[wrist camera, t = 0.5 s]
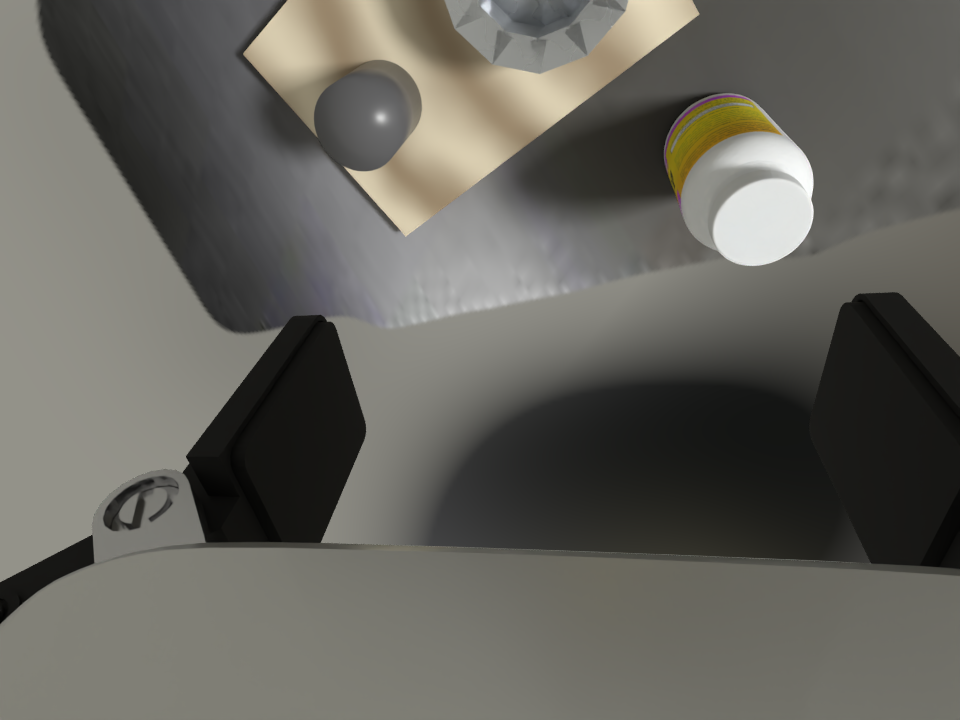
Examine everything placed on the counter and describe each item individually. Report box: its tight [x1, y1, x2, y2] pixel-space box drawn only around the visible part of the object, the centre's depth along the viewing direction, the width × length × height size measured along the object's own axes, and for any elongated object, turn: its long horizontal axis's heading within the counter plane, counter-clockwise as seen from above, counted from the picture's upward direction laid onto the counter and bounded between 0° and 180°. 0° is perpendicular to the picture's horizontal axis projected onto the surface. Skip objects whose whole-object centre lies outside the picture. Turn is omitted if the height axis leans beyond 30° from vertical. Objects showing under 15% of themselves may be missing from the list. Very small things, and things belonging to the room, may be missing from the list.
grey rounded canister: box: [314, 60, 422, 171], centre depth 36 cm, size 5×5×6 cm
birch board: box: [243, 0, 699, 236], centre depth 36 cm, size 24×16×1 cm, turn 129°
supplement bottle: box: [664, 93, 813, 266], centre depth 33 cm, size 7×7×13 cm
